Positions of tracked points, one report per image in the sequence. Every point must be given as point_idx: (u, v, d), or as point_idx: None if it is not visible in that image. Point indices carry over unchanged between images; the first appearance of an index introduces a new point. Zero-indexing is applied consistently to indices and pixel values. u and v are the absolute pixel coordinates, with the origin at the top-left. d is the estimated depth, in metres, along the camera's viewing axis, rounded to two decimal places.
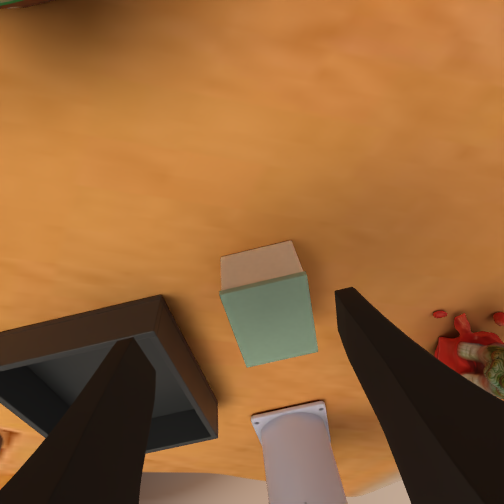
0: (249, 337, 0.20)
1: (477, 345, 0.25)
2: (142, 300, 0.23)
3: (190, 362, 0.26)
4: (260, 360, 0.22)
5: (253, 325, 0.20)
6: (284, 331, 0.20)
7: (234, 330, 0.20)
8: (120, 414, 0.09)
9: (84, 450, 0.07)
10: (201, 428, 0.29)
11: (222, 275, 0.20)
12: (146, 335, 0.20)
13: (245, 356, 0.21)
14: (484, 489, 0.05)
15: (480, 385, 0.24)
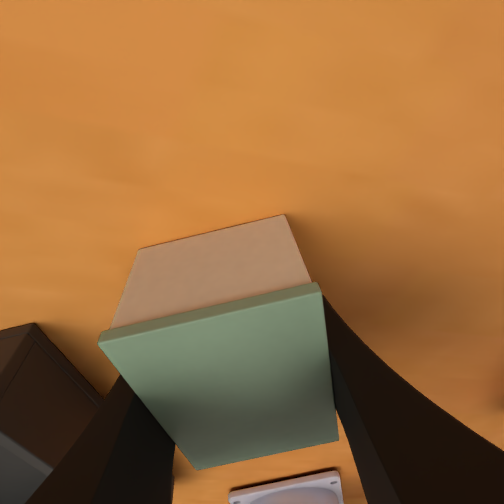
0: (192, 425, 0.09)
1: None
2: None
3: None
4: (223, 459, 0.11)
5: (197, 403, 0.09)
6: (268, 411, 0.09)
7: (154, 413, 0.09)
8: None
9: (124, 442, 0.07)
10: None
11: (126, 290, 0.09)
12: None
13: (189, 454, 0.10)
14: (413, 503, 0.05)
15: None
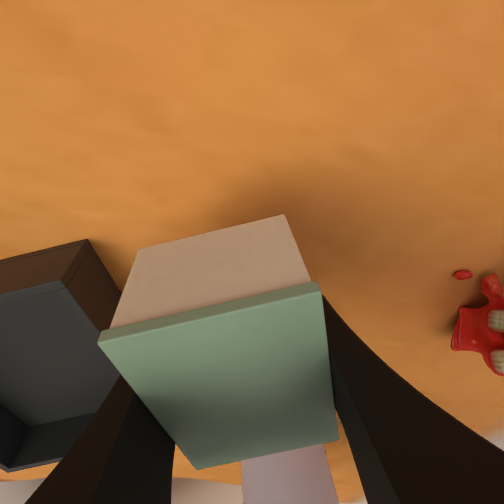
0: (192, 424, 0.09)
1: None
2: (60, 246, 0.16)
3: None
4: (223, 459, 0.11)
5: (197, 402, 0.09)
6: (268, 410, 0.09)
7: (154, 412, 0.09)
8: None
9: (124, 442, 0.07)
10: None
11: (126, 289, 0.09)
12: (50, 288, 0.14)
13: (189, 454, 0.10)
14: (413, 503, 0.05)
15: None
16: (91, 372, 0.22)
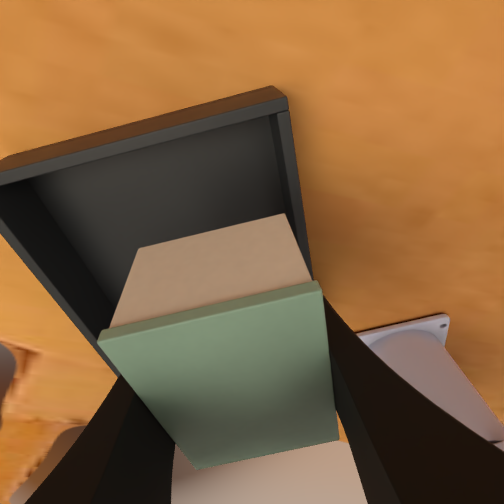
0: (192, 424, 0.09)
1: None
2: (243, 93, 0.14)
3: None
4: (223, 459, 0.11)
5: (197, 402, 0.09)
6: (269, 410, 0.09)
7: (153, 412, 0.09)
8: None
9: (123, 442, 0.07)
10: None
11: (126, 288, 0.09)
12: (271, 108, 0.12)
13: (189, 454, 0.10)
14: (413, 503, 0.05)
15: None
16: None
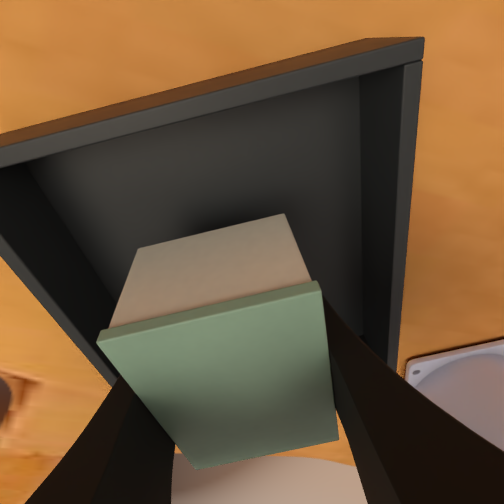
0: (192, 424, 0.09)
1: None
2: (327, 48, 0.10)
3: None
4: (223, 459, 0.11)
5: (197, 402, 0.09)
6: (268, 410, 0.09)
7: (153, 412, 0.09)
8: None
9: (123, 442, 0.07)
10: None
11: (125, 288, 0.09)
12: (399, 56, 0.08)
13: (189, 454, 0.10)
14: (413, 503, 0.05)
15: None
16: None
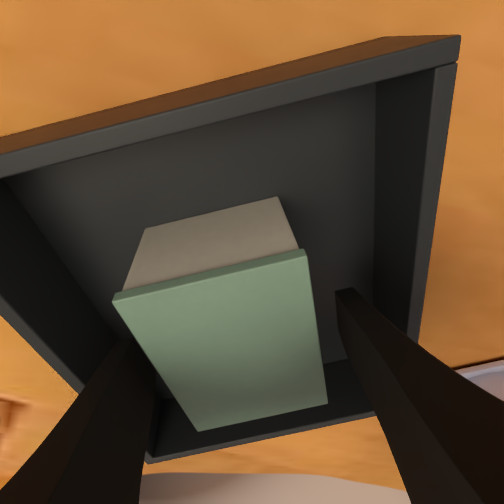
0: (194, 384, 0.10)
1: None
2: (340, 48, 0.09)
3: None
4: (222, 420, 0.12)
5: (199, 362, 0.10)
6: (263, 371, 0.10)
7: (160, 371, 0.10)
8: (120, 414, 0.09)
9: (84, 450, 0.07)
10: None
11: (135, 260, 0.10)
12: (430, 57, 0.06)
13: (191, 415, 0.11)
14: (484, 488, 0.05)
15: None
16: None
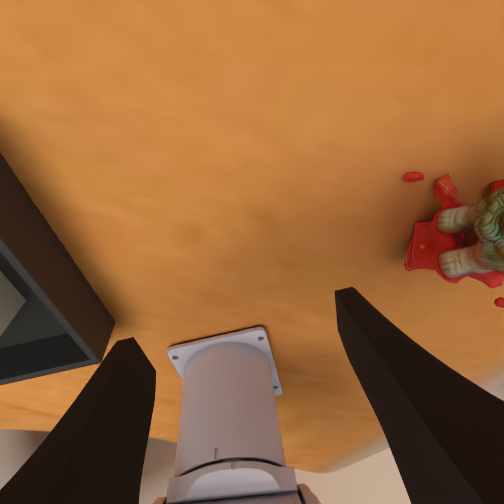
0: None
1: (466, 206, 0.16)
2: None
3: (42, 238, 0.17)
4: None
5: None
6: None
7: None
8: (120, 414, 0.09)
9: (84, 450, 0.07)
10: (81, 351, 0.21)
11: None
12: None
13: None
14: (484, 489, 0.05)
15: (470, 260, 0.15)
16: None
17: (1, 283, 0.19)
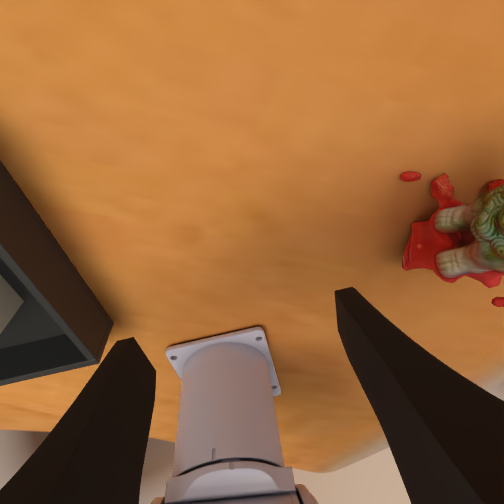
0: None
1: (463, 206, 0.16)
2: None
3: (39, 239, 0.17)
4: None
5: None
6: None
7: None
8: (120, 414, 0.09)
9: (84, 450, 0.07)
10: (79, 351, 0.21)
11: None
12: None
13: None
14: (484, 489, 0.05)
15: (466, 260, 0.15)
16: None
17: None
